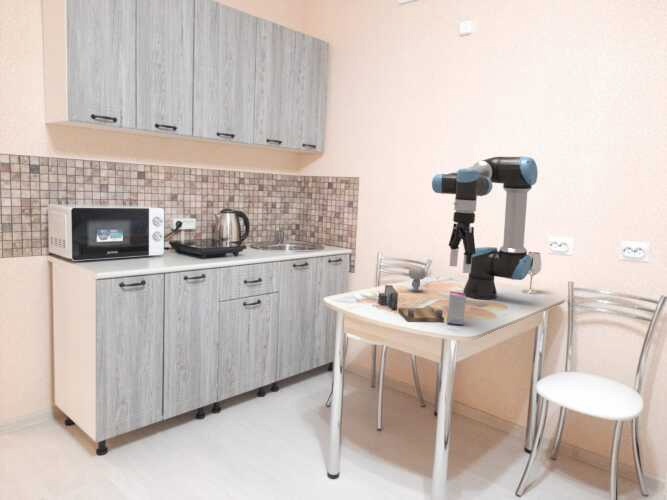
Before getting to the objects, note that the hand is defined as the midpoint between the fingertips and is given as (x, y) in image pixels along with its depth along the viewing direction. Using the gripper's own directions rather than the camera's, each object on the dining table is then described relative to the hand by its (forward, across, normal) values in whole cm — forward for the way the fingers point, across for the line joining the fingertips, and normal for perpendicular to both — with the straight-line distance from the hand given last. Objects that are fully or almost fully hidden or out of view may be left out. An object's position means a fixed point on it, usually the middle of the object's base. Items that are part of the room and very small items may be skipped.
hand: (459, 269), depth 186 cm
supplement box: (+21, 0, 0) cm, 21 cm away
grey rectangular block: (+20, -27, -18) cm, 38 cm away
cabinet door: (+20, -10, -12) cm, 26 cm away
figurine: (+20, -53, 0) cm, 57 cm away
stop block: (+20, -27, -22) cm, 40 cm away
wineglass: (+20, -57, +60) cm, 85 cm away
